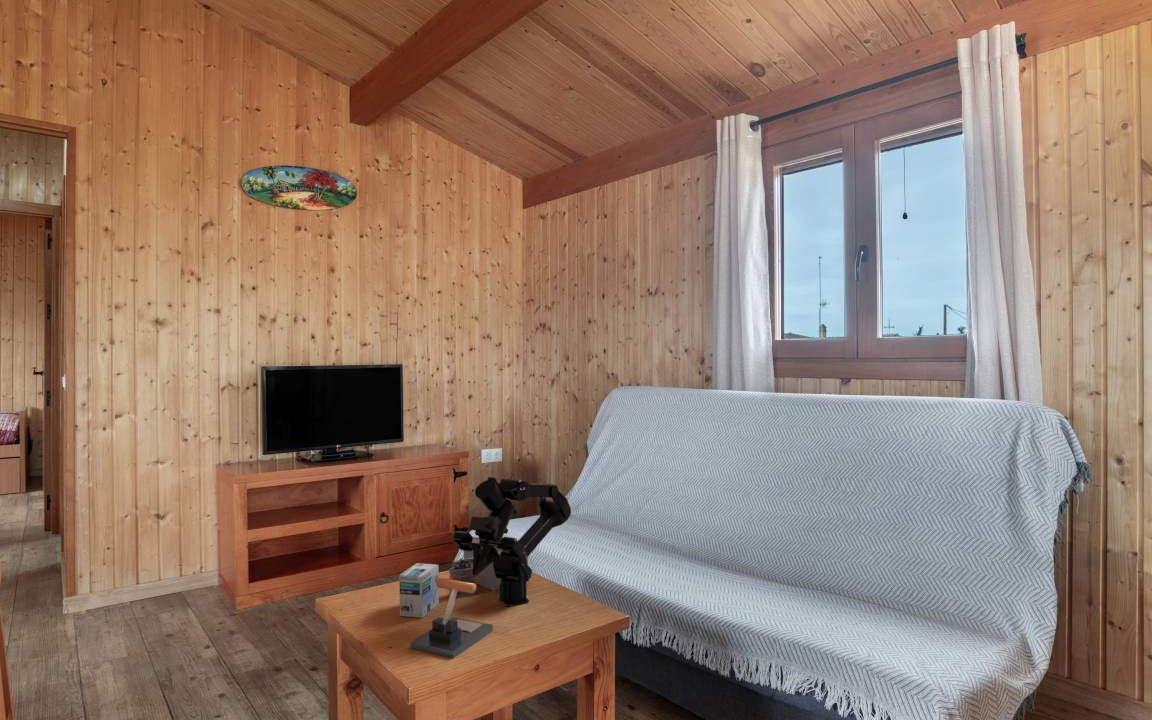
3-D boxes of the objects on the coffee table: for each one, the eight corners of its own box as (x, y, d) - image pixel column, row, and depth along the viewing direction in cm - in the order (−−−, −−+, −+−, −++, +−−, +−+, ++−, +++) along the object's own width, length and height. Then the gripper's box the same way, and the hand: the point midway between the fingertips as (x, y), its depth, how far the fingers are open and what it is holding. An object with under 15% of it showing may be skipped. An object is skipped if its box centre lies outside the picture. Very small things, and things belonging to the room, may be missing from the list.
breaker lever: (430, 622, 157) (442, 579, 162) (465, 629, 153) (477, 584, 157) (424, 620, 155) (437, 576, 160) (460, 627, 151) (472, 582, 156)
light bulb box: (423, 618, 170) (422, 576, 170) (398, 616, 171) (398, 575, 171) (439, 603, 180) (439, 563, 180) (416, 601, 181) (416, 562, 181)
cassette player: (502, 588, 191) (501, 554, 191) (494, 591, 189) (494, 556, 189) (471, 576, 203) (471, 543, 202) (464, 578, 201) (463, 545, 201)
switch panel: (452, 622, 167) (452, 601, 167) (492, 630, 161) (492, 608, 161) (410, 648, 152) (410, 624, 152) (453, 658, 147) (453, 633, 147)
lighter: (450, 598, 184) (450, 562, 184) (448, 594, 187) (447, 559, 187) (479, 594, 187) (478, 558, 187) (476, 590, 190) (475, 555, 190)
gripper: (455, 500, 174) (429, 553, 164) (517, 506, 166) (493, 563, 156) (473, 523, 181) (449, 575, 171) (532, 530, 173) (511, 586, 163)
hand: (474, 574), depth 165 cm, fingers closed
